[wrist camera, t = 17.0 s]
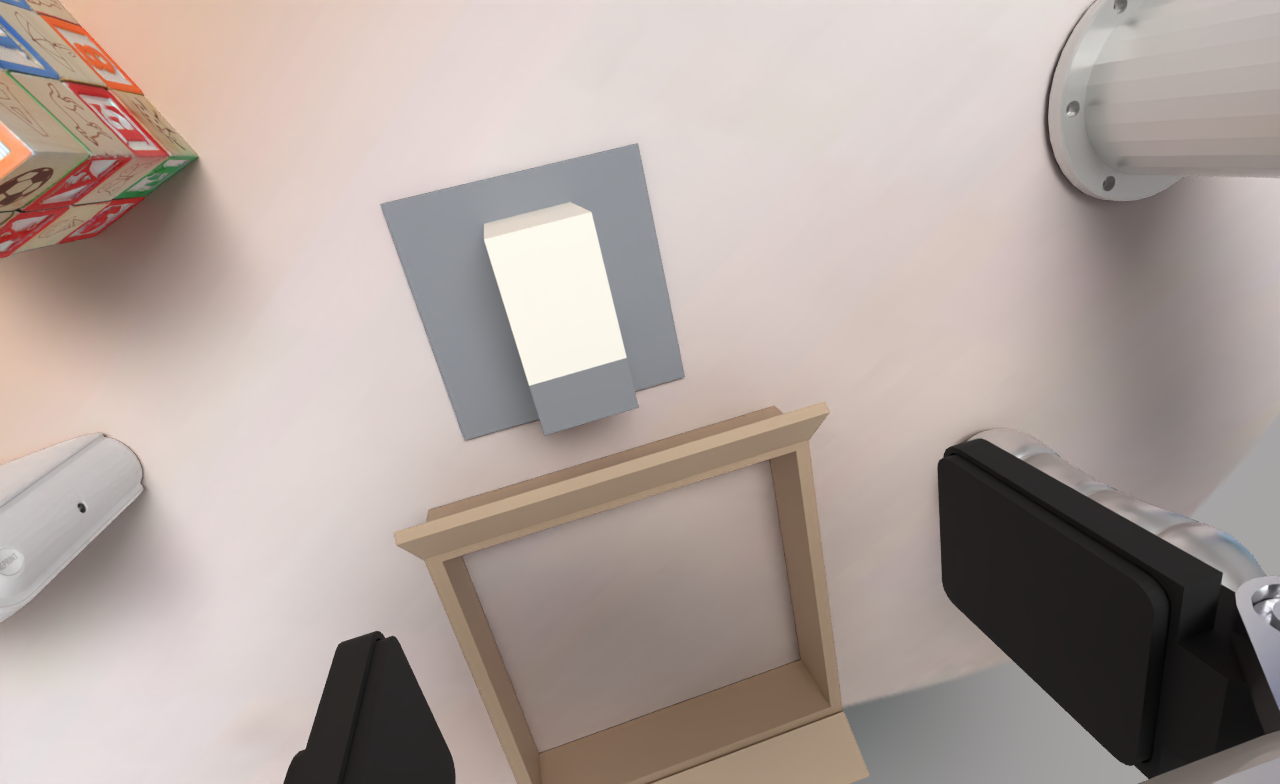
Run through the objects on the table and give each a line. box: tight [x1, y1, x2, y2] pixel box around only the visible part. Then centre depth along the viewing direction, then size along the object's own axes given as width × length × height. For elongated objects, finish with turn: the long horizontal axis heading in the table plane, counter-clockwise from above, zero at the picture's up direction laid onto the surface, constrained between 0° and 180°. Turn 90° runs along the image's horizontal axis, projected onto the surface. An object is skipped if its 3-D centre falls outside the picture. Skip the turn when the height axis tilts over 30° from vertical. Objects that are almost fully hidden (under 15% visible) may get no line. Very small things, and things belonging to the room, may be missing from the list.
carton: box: [394, 402, 870, 784], centre depth 39 cm, size 22×28×8 cm
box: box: [484, 202, 638, 435], centre depth 31 cm, size 4×9×7 cm, turn 13°
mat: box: [381, 144, 685, 440], centre depth 34 cm, size 13×13×1 cm
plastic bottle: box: [966, 428, 1266, 592], centre depth 36 cm, size 6×7×20 cm
